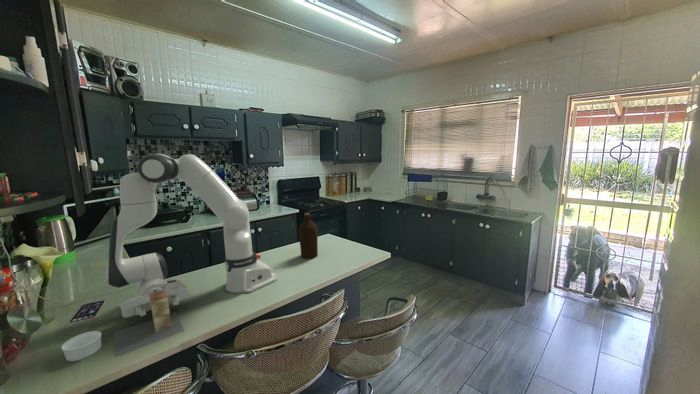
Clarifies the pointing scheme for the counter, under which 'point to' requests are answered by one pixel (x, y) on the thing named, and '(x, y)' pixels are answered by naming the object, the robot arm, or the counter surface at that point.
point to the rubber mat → (143, 335)
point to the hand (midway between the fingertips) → (160, 308)
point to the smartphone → (87, 311)
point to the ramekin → (82, 346)
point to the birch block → (160, 310)
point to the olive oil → (308, 238)
